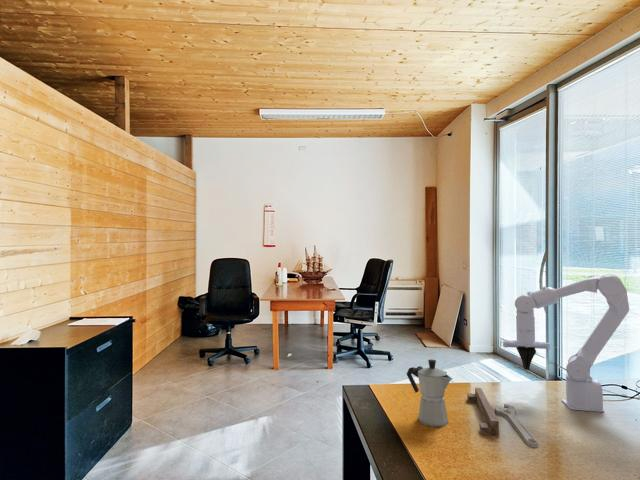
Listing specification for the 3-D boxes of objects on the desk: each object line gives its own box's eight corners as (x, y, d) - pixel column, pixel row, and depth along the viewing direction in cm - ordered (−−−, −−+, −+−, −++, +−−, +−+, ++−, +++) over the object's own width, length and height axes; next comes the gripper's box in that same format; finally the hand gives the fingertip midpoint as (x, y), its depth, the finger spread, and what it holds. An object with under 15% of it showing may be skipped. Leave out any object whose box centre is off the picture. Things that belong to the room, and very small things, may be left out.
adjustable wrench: (540, 449, 100) (540, 442, 100) (513, 447, 102) (513, 440, 102) (513, 409, 125) (513, 404, 125) (491, 408, 126) (491, 402, 126)
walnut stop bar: (481, 400, 132) (481, 388, 132) (499, 436, 106) (498, 421, 106) (467, 399, 133) (467, 387, 133) (481, 434, 107) (481, 419, 107)
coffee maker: (459, 422, 115) (458, 360, 116) (446, 432, 109) (445, 367, 109) (414, 408, 125) (414, 352, 126) (400, 417, 119) (399, 357, 119)
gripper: (505, 331, 133) (506, 371, 133) (552, 332, 130) (553, 373, 130) (501, 327, 140) (501, 365, 140) (545, 328, 137) (546, 367, 137)
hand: (526, 368), depth 135 cm, fingers closed
